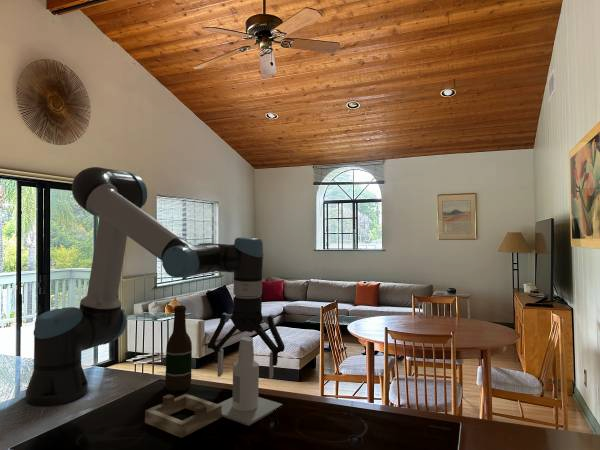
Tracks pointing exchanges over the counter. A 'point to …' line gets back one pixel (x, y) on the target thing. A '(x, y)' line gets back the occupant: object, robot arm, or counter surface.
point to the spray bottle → (245, 377)
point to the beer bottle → (179, 354)
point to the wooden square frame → (160, 413)
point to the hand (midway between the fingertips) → (245, 376)
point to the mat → (248, 416)
